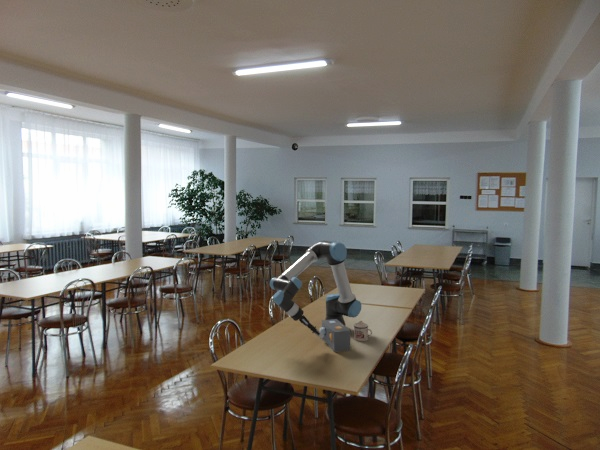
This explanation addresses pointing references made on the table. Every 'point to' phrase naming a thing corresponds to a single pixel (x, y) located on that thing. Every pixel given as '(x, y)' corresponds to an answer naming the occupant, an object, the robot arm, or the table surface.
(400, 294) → the table surface
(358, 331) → the teacup with lid
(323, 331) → the pale blue button
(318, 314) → the table surface
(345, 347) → the button console
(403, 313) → the table surface
